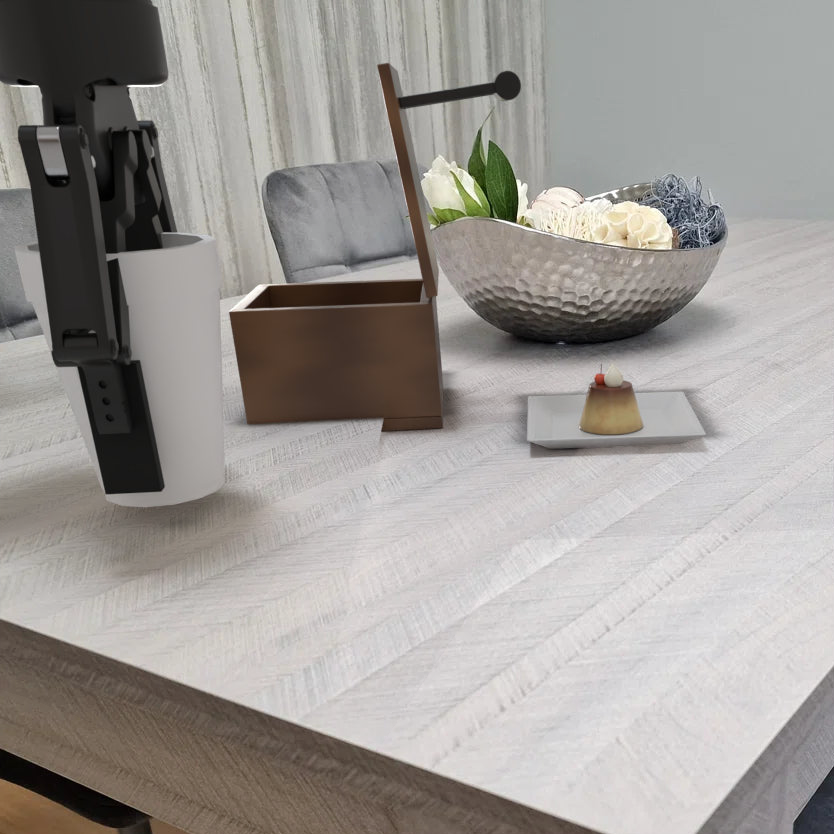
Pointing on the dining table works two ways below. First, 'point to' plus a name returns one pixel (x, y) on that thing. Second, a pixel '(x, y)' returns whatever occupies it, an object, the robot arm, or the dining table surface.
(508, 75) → the wooden box lid
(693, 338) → the dining table surface
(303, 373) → the basket
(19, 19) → the robot arm
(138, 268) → the foam cup
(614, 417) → the dessert
